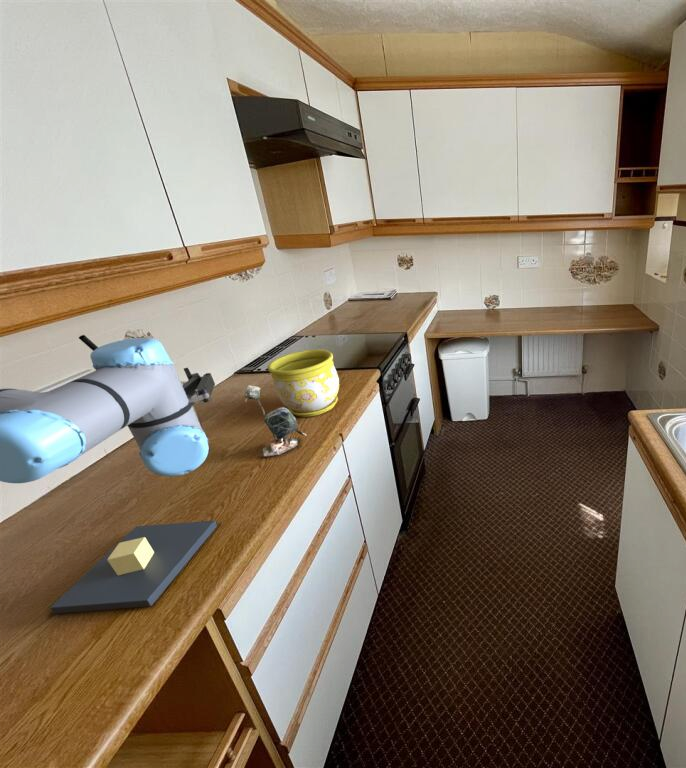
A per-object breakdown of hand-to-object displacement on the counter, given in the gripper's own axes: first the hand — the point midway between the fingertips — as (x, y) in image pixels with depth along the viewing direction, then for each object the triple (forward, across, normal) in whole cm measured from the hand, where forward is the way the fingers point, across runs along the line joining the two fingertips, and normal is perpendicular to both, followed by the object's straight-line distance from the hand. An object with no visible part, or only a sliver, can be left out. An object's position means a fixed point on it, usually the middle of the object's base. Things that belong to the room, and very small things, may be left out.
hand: (156, 382), depth 83 cm
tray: (-17, -12, -28) cm, 35 cm away
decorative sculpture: (+5, +18, -28) cm, 34 cm away
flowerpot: (+23, +32, -28) cm, 49 cm away
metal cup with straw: (-4, 0, -17) cm, 17 cm away
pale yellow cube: (-18, -13, -26) cm, 35 cm away
